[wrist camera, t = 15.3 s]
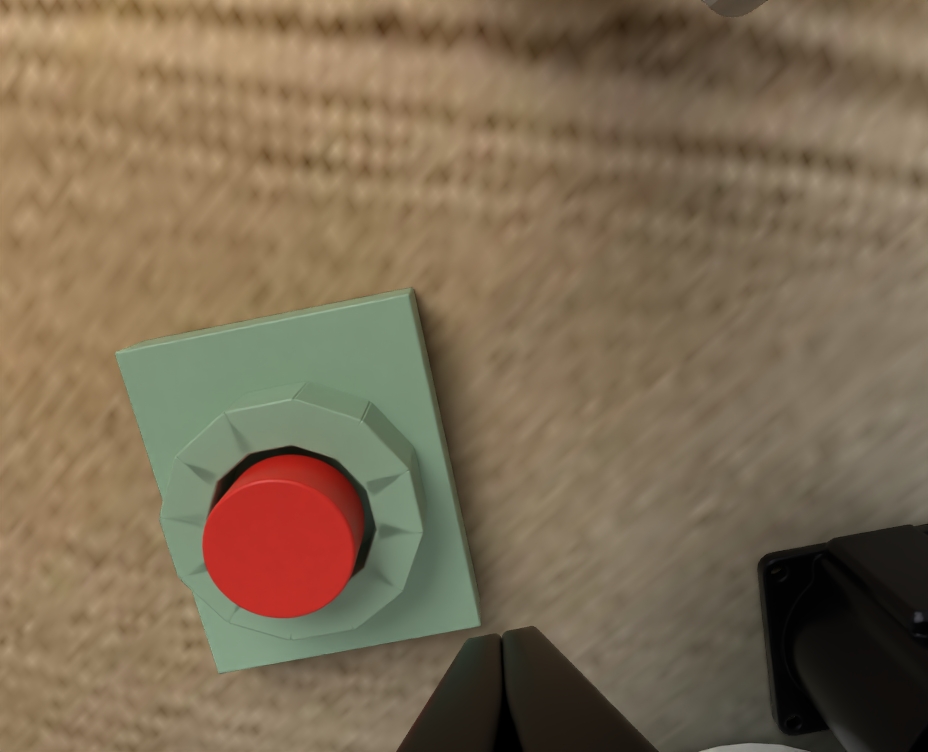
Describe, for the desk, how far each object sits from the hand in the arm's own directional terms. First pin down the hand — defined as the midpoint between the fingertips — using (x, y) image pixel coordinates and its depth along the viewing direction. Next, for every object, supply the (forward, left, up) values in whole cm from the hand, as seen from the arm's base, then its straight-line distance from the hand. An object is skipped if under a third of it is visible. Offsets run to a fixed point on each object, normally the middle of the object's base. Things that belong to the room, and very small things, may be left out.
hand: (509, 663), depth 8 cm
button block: (-1, +5, -12) cm, 13 cm away
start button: (-1, +5, -9) cm, 11 cm away
